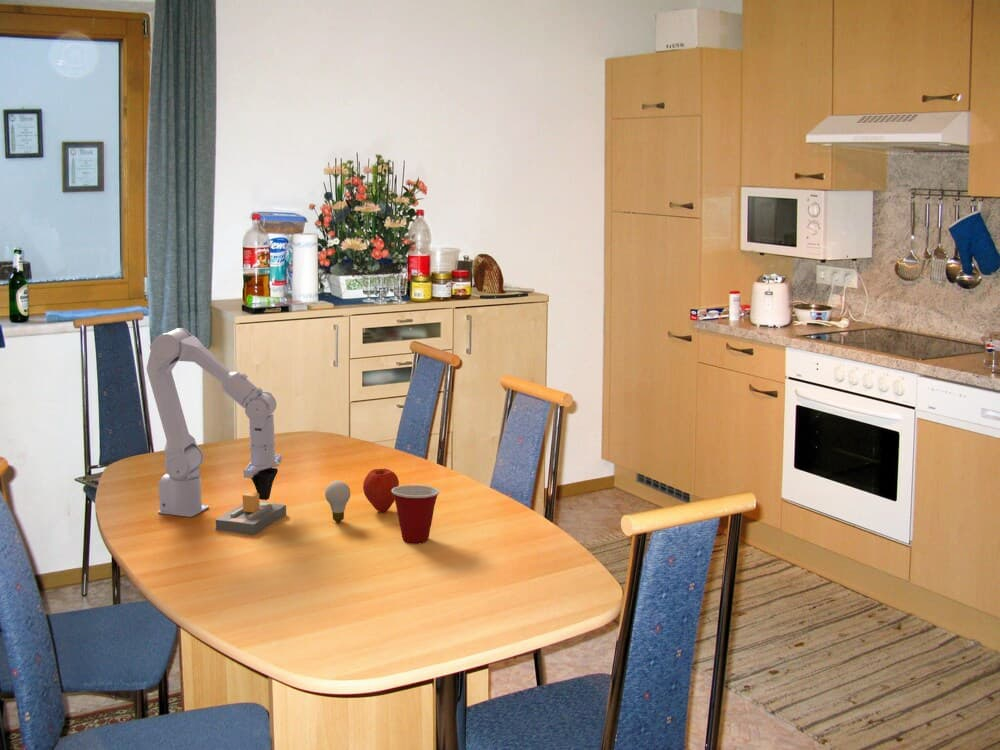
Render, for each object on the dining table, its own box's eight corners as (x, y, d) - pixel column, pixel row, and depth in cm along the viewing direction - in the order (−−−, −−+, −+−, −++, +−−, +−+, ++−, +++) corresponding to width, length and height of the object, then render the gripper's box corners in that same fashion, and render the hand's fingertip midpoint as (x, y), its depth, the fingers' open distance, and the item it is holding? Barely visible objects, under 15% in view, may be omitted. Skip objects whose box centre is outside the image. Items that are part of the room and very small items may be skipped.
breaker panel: (215, 529, 257) (215, 516, 256) (249, 510, 271) (249, 497, 270) (254, 534, 254) (253, 521, 253) (286, 514, 268) (285, 501, 267)
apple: (357, 514, 269) (356, 471, 266) (374, 504, 276) (373, 462, 274) (389, 519, 265) (388, 475, 263) (405, 508, 273) (405, 466, 271)
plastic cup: (447, 534, 255) (447, 484, 253) (428, 550, 245) (428, 498, 243) (403, 529, 258) (403, 479, 256) (383, 544, 248) (383, 492, 246)
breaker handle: (243, 511, 261) (242, 494, 260) (248, 508, 263) (247, 492, 262) (254, 512, 260) (253, 496, 259) (259, 509, 262) (259, 493, 261)
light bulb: (346, 526, 260) (345, 485, 258) (322, 525, 261) (321, 484, 259) (354, 518, 265) (353, 478, 263) (330, 517, 266) (329, 476, 264)
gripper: (261, 453, 256) (263, 509, 259) (292, 438, 270) (293, 492, 273) (234, 450, 258) (237, 506, 261) (266, 435, 272) (267, 489, 275)
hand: (264, 499), depth 267 cm, fingers closed
